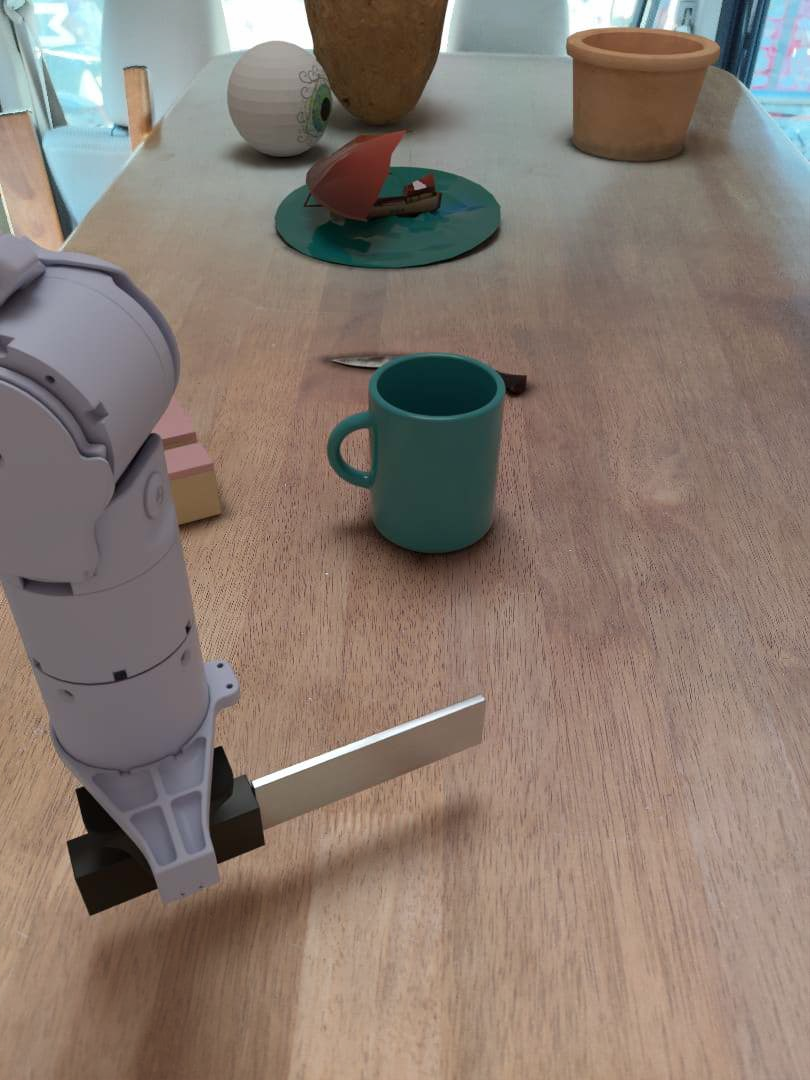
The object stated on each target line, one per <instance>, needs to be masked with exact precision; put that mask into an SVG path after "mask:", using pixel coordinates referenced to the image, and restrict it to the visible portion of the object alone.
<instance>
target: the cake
mask: <svg viewBox="0 0 810 1080" xmlns="http://www.w3.org/2000/svg"><path fill="white" fill-rule="evenodd" d="M151 433H156V434H159V435H160V437H161V439H162V443H163V448H164V451H165V450H169V449H173V448H178V447H182V446H186V445H190V444H194V443H198V438H197V432H196V430H195V427H194V426H193V425H192V423H191V421H190V419H189V417H188V416H187V414H186V412H185V410H184V409H183V407H182V405H181V403H180V401H179V399H178V398H177V396H176V395H175V394H174V395H173V396H172V398H171V401H170V404H169V406H168V408H167V409H166V411H165V413H164V414H163V416H162V417H161V419H160V420H159V421H158V423H157V424H156V426H155V427H154V429H153V430H152V432H151Z"/></svg>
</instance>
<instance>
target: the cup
mask: <svg viewBox="0 0 810 1080" xmlns="http://www.w3.org/2000/svg"><path fill="white" fill-rule="evenodd" d="M401 356H402V357H399V358H396V359H393V360H391V361H389V362H387V363H385V364H383V365H382V366H381V367H377V369H376V370H375V371H374V372H373V373H372V374H371V376H370V378H369V380H368V384H367V385H368V387H367V388H368V391H367V392H368V395H367V396H368V409H367V410H365V411H361V412H360V411H359V412H357V413H353V414H350V415H348V416H346V417H345V418H343V419H342V420H341V421H339V422H338V423H337V424H336V425H335V426H334V427H333V429H331V430H332V431H331V432H330V434H329V436H328V439H327V442H326V456H327V460H328V463H329V465H330V467H331V469H332V471H334V473H335V474H336V475H337V476H338V477H339V478H340V479H341V480H343V481H344V482H346V483H348V484H350V485H352V486H355V487H358V488H361V489H366V490H368V491H369V498H370V499H369V500H370V501H369V502H370V516H371V519H372V520H371V521H372V522H373V524H374V526H375V528H376V529H377V531H378V532H379V533H380V535H382V537H384V538H385V539H386V540H387V541H389V542H391V543H393V544H394V545H396V546H398V547H400V548H403V549H406V550H409V551H412V552H418V553H422V554H423V553H425V554H444V553H450V552H456V551H459V550H462V549H465V548H468V547H470V546H471V545H473V544H475V543H477V542H479V541H480V540H481V539H482V538H483V537H485V535H486V534H487V533H488V531H489V530H490V529H491V527H492V525H493V522H494V518H495V510H496V500H497V490H498V489H497V488H498V478H499V467H500V456H501V445H502V434H503V424H504V423H503V422H504V413H505V402H506V390H507V389H506V387H505V383H504V381H503V379H502V377H501V376H500V375H499V373H497V372H496V371H495V370H496V369H495V368H493V367H492V366H491V365H489V364H487V363H485V362H483V361H481V360H479V359H476V358H473V357H470V356H466V355H462V354H457V353H450V352H441V351H440V352H438V351H434V352H433V351H429V352H418V353H412V354H406V355H401ZM363 429H366V430H368V443H369V445H368V446H369V449H368V450H369V471H363V470H359V469H357V468H355V467H354V466H352V465H350V464H349V463H347V461H345V459H344V458H343V456H342V452H341V446H342V444H343V441H344V440H345V439H346V437H347V436H349V435H350V434H353V432H356V431H359V430H363Z"/></svg>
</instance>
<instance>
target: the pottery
mask: <svg viewBox="0 0 810 1080" xmlns="http://www.w3.org/2000/svg"><path fill="white" fill-rule="evenodd" d="M565 50H566V51H565V52H566V55H567V56H569V57H570V58H572V144H573V145H574V146H575V147H576V149H578V150H580V151H581V152H583V153H586V154H588V155H591V156H593V157H597V158H603V159H607V160H612V161H613V160H615V161H624V162H653V161H660V160H667V159H669V158H672V157H674V156H676V155H678V154H679V153H680V152H681V150H682V149H683V145H684V142H685V140H686V136H687V133H688V130H689V128H690V123H691V120H692V118H693V115H694V112H695V108H696V106H697V103H698V100H699V97H700V93H701V92H702V88H703V85H704V82H705V78H706V75H707V72H708V70H709V67H712V66H713V65H714V64H716V63H717V62H718V60H719V59H720V54H721V47H720V45H719V44H718V42H717V41H715V40H712V39H710V38H707V37H706V36H703V35H699V34H694V33H689V32H685V31H679V30H673V29H672V30H671V29H663V28H655V27H654V28H653V27H639V26H638V27H637V26H636V27H633V26H631V27H629V26H624V27H623V26H622V27H621V26H619V27H616V26H614V27H613V26H612V27H600V28H599V27H598V28H590V29H585V30H581V31H576V32H573V33H572V34H570V35H569V36H567V37H566V44H565Z"/></svg>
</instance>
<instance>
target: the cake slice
mask: <svg viewBox="0 0 810 1080" xmlns="http://www.w3.org/2000/svg"><path fill="white" fill-rule="evenodd" d="M164 454H165V459H166V464H167V470H168V475H169V481H170V486H171V491H172V497H173V501H174V505H175V510H176V515H177V521H178V526H181V525H184V524H188V523H191V522H195V521H199V520H203V519H207V518H210V517H214V516H218V515H221V514H222V511H221V503H220V498H219V491H218V484H217V477H216V471H215V464H214V460H213V459H212V458H211V456H210V454H209V452H208V451H207V449H206V447H205V445H204V443H203V442H202V441H197V443H194V444H190V445H186V446H182V447H178V448H173V449H169V450H165V451H164Z"/></svg>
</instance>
